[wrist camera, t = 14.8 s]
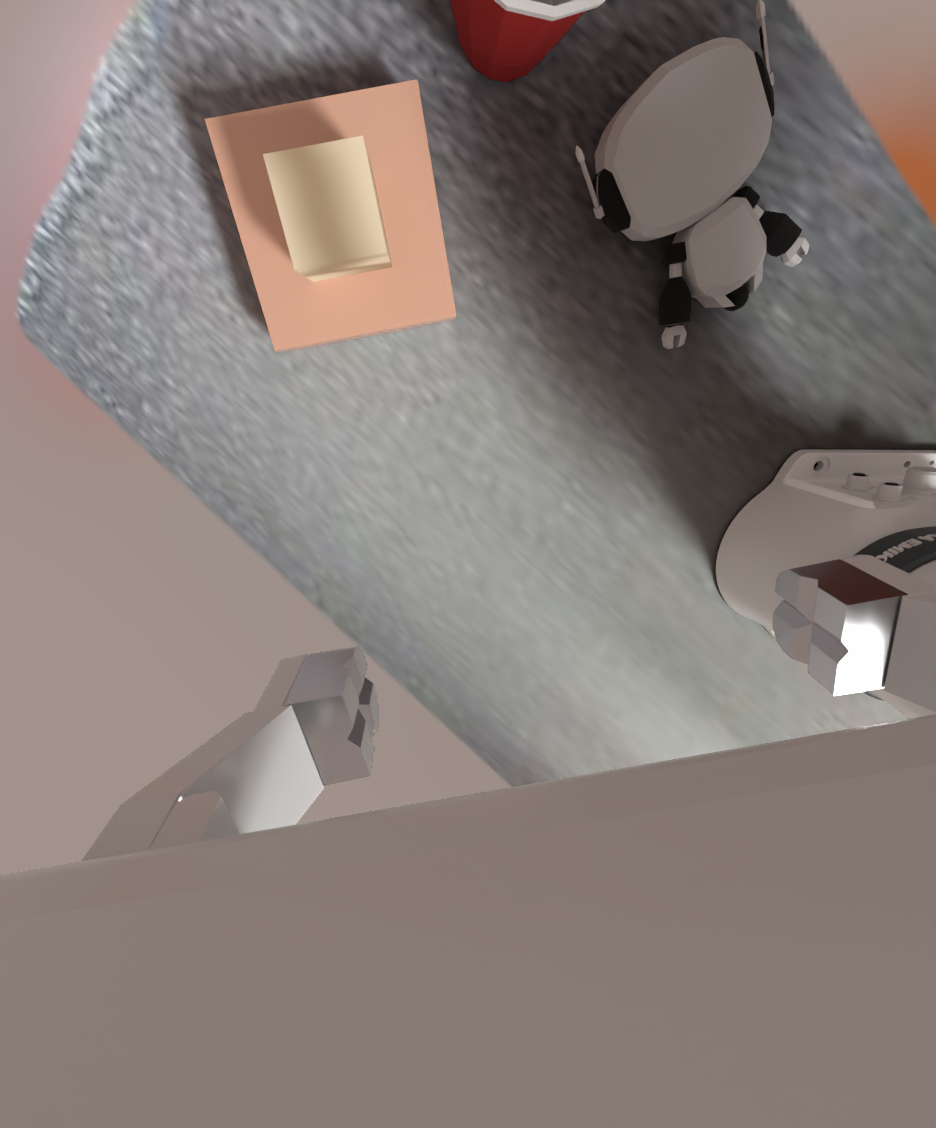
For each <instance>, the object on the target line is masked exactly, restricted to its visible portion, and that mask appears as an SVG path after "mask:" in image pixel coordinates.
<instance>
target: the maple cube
mask: <svg viewBox="0 0 936 1128" xmlns="http://www.w3.org/2000/svg"><path fill="white" fill-rule="evenodd" d="M263 157H264V161H265V164H266V168H267V172H268V175H269V179H270V183H271V186H272V190H273V194H274V197H275V201H276V205H277V208H278V212H279V216H280V219H281V223H282V227H283V230H284V234H285V238H286V241H287V245H288V249H289V252H290V256H291V260H292V263H293V267H294V270H295V271H297V272H298V273H300V274H302V275H303V276H305V277H306V278H308V279H309V280H311V281H312V282H317V281H322V280H327V279H333V278H338V277H343V276H348V275H354V274H359V273H364V272H370V271H375V270H380V269H385V268H391V267H392V263H391V258H390V253H389V248H388V244H387V239H386V234H385V229H384V224H383V219H382V214H381V209H380V204H379V199H378V195H377V190H376V185H375V180H374V175H373V170H372V166H371V163H370V159H369V156H368V152H367V148H366V145H365V141H364V138H363V136H358V137H352V138H347V139H342V140H336V141H331V142H326V143H320V144H315V145H310V146H304V147H299V148H293V149H288V150H283V151H277V152H272V153H267V154H263Z"/></svg>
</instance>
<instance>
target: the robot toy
mask: <svg viewBox="0 0 936 1128" xmlns="http://www.w3.org/2000/svg"><path fill="white" fill-rule="evenodd" d="M755 9H756V18H757V19H758V24H759V33H760V42H761V52H762V59H761V57H760V55H759V54H758V52H757V51H756V52H753V51H752V50H751V49H750V48H749V47H748V46H747V45H745V44H744V43H743V42H742V41H741V40H740V39H737V38H727V37H720V38H716V39H712V40H709V41H707V42H704V43H701V44H699V45H696V46H694V47H692V48H691V49H689V50H687V51H685V52H684V53H682V54H680V55H678V56H677V57H675V58H673V59H671V60H670V61H668V62H666V63H664V64H662V65H661V66H660V67H659V68H658V69H657V70H656V71H655V72H653V73H652V74H651V75H650V76H649V77H648V78H647V79H646V80H645V81H644V82H643V84H642V85H641V86H640V87H639V88H638V89H637V90H636V91H635V92H634V93H633V94H632V96H631V97H630V98H629V99H628V100H627V101H626V102H625V103H624V104H623V105H622V106H621V107H620V109H619V110H618V111H617V113H616V114H615V115H614V117H613V118H612V120H611V121H610V122H609V124H608V125H607V127H606V128H605V130H604V132H603V134H602V136H601V138H600V141H599V144H598V147H597V149H596V152H595V166H596V175H595V177H594V178H593V179H592V182H591V179H590V176H589V173H588V170H587V167H586V164H585V161H584V160H585V158H584V155H583V152H582V150H581V149H580V148H579V147H578V146H577V145H576V152H575V154H576V157H577V160H578V162H580V165H581V168H582V171H583V174H584V177H585V180H586V183H587V186H588V189H589V192H590V195H591V198H592V201H593V204H594V208H593V211H594V214H595V216H596V218H597V219H601V218H602V220H603V222H604V223H605V224H606V225H607V226H608V227H609V228H610V229H611V230H612V231H613V232H614V233H616V232H619V231H621V232H622V233H624V234H625V235H626V236H627V237H628V238H629V239H630V240H631V241H649V240H654V239H657V238H661V237H664V236H667V235H670V234H673V233H675V232H677V233H676V235H675V238H674V240H673V243H672V244H670V245H665V246H664V254H663V263H664V264H666V265H669V279H668V281H667V283H666V285H665V287H664V289H663V291H662V294H661V296H660V298H659V325H666V327H665V330H664V332H663V334H662V342H663V347H665V348H666V349H671V348H673V341H674V347H681V346H682V345H683V344H684V343H685V339H686V335H687V332H686V330H685V328H684V326H683V323H682V322H687V321H690V312H691V297H693V298H696V299H697V300H698V301H699V302H700V303H701V304H702V305H703V306H704V307H705V308H725V309H726V310H729V311H734V310H737V309H739V308H741V307H742V306H743V305H744V304H745V303H746V301H747V300H748V295H749V293H753V292H755V291H756V289H757V288H758V286H759V285H760V283H761V282H762V280H763V260H764V257H765V254H766V251H767V252H768V253H769V254H770V255H771V256H775V257H777V256H779V255H781V259H782V262H783V263H784V264H786V265H788V266H790V267H793V266H795V265H797V264H799V263H800V262H801V260H802V259H801V258H800V257H799V256H798V255H797V254H796V252H798V253H799V254H800V256H802V255H806V253H807V252H808V249H809V244H808V242H807V240H806V238H805V237H804V236H799V235H800V233H801V231H802V229H801V228H800V227H799V226H797V225H796V224H795V223H794V222H793V221H792V220H791V219H790V218H789V217H788V216H787V215H786V214H783V213H776V212H769V211H763V210H762V209H761V208H760V207H759V206H758V205H757V203H758V200H759V197H760V196H759V195H758V194H757V193H756V192H755V191H754V190H753V189H752V188H751V187H750V186H745V187H743V188H742V189H740V190H738V192H737V193H736V194H735V195H734V197H732V198H729V197H730V196H731V195H732V194H733V193H734V192H735V191H736V190H737V189H739V188H740V186H741V185H742V184H743V183H744V182H745V180H746V179H747V178H748V177H749V176H750V174H751V173H752V172H753V171H754V169H755V168H756V166H757V165H758V163H759V162H760V160H761V158H762V156H763V154H764V151H765V149H766V147H767V145H768V143H769V138H770V132H771V125H772V117H773V115H774V99H773V96H774V93H773V89H772V86H773V85H774V74H773V72H771V73H770V64H769V55H768V45H767V35H766V25H765V15H766V11H765V3H764V2H763V1H762V0H758V2H757V5H756V8H755ZM728 198H729V199H728Z"/></svg>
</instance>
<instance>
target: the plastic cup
mask: <svg viewBox="0 0 936 1128" xmlns="http://www.w3.org/2000/svg"><path fill="white" fill-rule="evenodd" d="M450 1H451V6H452V10H453V15H454V20H455V24H456V29H457V33H458V38H459V42H460V45H461V47H462V49H463V50H464V52H465V54H466V55H467V57H468V59H469V60H470V62H471V64H472V66H473V67H474V68H475V69H477V70H478V71H479V72H480V73H482V74H483V75H484V76H486V77H487V78H488V79H492V80H497V81H503V82H508V81H511V80H514V79H517V78H520V77H523V76H525V75H527V74H528V73H529V72H530V71H531V70H532V69H533V68H534V67H535V66H536V65H537V64H538V63H539V62H540V61H541V60H542V59H543V58H544V57H545V56H546V54H547V53H548V52H549V51H550V50H551V49H552V48H553V47H554V46H555V45H556V44H557V43H558V42H559V41H560V40H561V39H562V38H563V37H564V35H565V34H566V33H567V32H568V31H569V29H570V28H571V27H572V26H573V25H574V23H575V22H576V21H577V20H578V19H579V17H580V16H581V15H582V14H583V13H584V12H585V11H587V10H591V9H594V8H597V7H599V6H600V5H601V4H602V3H603V2H604V1H605V0H450Z"/></svg>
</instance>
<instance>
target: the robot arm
mask: <svg viewBox="0 0 936 1128" xmlns="http://www.w3.org/2000/svg"><path fill="white" fill-rule="evenodd" d="M816 462H817V466H816V467H815V468H814V465H815V463H816ZM716 579H717V584H718V587H719V590H720V593H721V595H722V597H723V598H724V600H725V601H726V603H727V604H728V605H729V606H730V607H731V608H732V609H733V610H734V611H736V612H737V613H739V614H740V615H742V616H744V617H746V618H749V619H751V620H753V621H755V622H757V623H759V624H761V625H763V626H764V628H765V629H766V630H767V631H768V633H769V634H770V635H771V636H772V637H773V638H775V639H776V641H777V642H778V644H779V645H780V647H781V648H782V650H783V651H784V652H785V653H786V654H787V655H788V656H789V657H790V658H792V659H794V660H797V661H800V662H803V663H806V664H808V673H809V674H810V675H811V676H812V677H813V678H814V679H815V680H817V681H818V682H819V683H820V684H821V685H822V686H823V687H825V688H826V689H827V690H828V691H829V692H830V693H832V694H833V695H841V694H848V693H855V692H864V693H865V694H867V695H869V696H871V697H873V698H876V699H879V700H883V701H886V702H887V703H888V704H890V705H891V706H892V707H894V708H895V709H896V710H898V711H899V712H900V713H902V714H903V715H904V716H905V717H907V718H908V719H905V720H900V721H894V722H888V723H882V724H876V725H871V726H865V727H859V728H853V729H847V730H842V731H836V732H830V733H824V734H818V735H813V736H807V737H801V738H795V739H789V740H784V741H778V742H772V743H766V744H760V745H755V746H749V747H743V748H737V749H731V750H726V751H720V752H714V753H708V754H702V755H697V756H691V757H685V758H679V759H673V760H667V761H662V762H656V763H650V764H644V765H638V766H633V767H627V768H621V769H615V770H609V771H604V772H598V773H592V774H586V775H580V776H574V777H569V778H563V779H557V780H551V781H545V782H540V783H534V784H528V785H522V786H516V787H511V788H505V789H499V790H493V791H488V792H482V793H476V794H470V795H465V796H458V797H453V798H447V799H441V800H436V801H429V802H424V803H418V804H412V805H406V806H401V807H394V808H388V809H383V810H377V811H371V812H365V813H359V814H354V815H348V816H342V817H336V818H330V819H325V820H319V821H313V822H307V823H302V824H296V823H297V822H298V821H299V819H300V818H301V817H302V816H303V814H304V813H305V812H306V811H307V809H308V808H309V807H310V805H311V804H312V803H313V802H314V800H315V799H316V798H317V796H318V795H319V794H320V793H321V791H322V790H323V789H324V785H329V784H334V783H339V782H344V781H349V780H353V779H358V778H363V777H368V776H370V773H371V767H372V762H373V756H374V750H375V748H374V745H373V742H372V739H371V738H372V737H373V736H374V734H375V733H376V732H377V730H378V724H379V705H378V701H377V695H376V691H375V688H374V685H373V683H372V682H371V681H369V680H368V679H367V678H365V674H366V670H367V662H366V659H365V656H364V653H363V651H362V649H361V648H360V647H359V646H357V647H351V648H345V649H338V650H332V651H326V652H320V653H314V654H309V655H308V654H306V655H300V656H295V657H290V658H285V659H283V660H280V662H279V664H278V666H277V667H276V669H275V671H274V673H273V675H272V677H271V679H270V681H269V683H268V685H267V687H266V689H265V690H264V692H263V694H262V696H261V698H260V700H259V702H258V704H257V706H256V708H255V710H254V711H253V712H248V713H245V714H243V715H242V716H241V717H240V718H238V719H237V720H235V721H234V722H233V723H231V724H230V725H229V726H227V727H226V728H224V729H223V730H222V731H220V732H219V733H218V734H216V735H215V736H214V737H212V738H211V739H209V740H208V741H207V742H205V743H204V744H203V745H201V746H200V747H199V748H197V749H196V750H194V751H193V752H192V753H190V754H189V755H188V756H186V757H185V758H184V759H182V760H181V761H180V762H178V763H177V764H176V765H174V766H173V767H171V768H170V769H169V770H167V771H166V772H165V773H163V774H162V775H161V776H159V777H158V778H157V779H155V780H154V781H152V782H151V783H150V784H148V785H147V786H146V787H144V788H143V789H142V790H140V791H139V792H137V793H136V794H135V795H133V796H132V797H131V798H129V799H128V800H127V801H125V802H124V803H123V804H122V805H120V807H119V808H118V809H117V811H116V812H115V814H114V815H113V816H112V818H111V819H110V821H109V822H108V824H107V825H106V826H105V828H104V829H103V831H102V832H101V834H100V835H99V837H98V838H97V839H96V841H95V842H94V843H93V845H92V846H91V848H90V849H89V851H88V852H87V853H86V855H85V856H84V858H83V859H82V861H81V862H75V863H69V864H63V865H58V866H52V867H46V868H40V869H35V870H29V871H23V872H17V873H11V874H6V875H0V1128H936V450H822V449H804V450H799V451H796V452H795V453H793V454H792V455H791V456H790V457H789V458H788V459H787V460H786V462H785V463H784V465H783V466H782V467H781V469H780V470H779V472H778V474H777V475H776V477H775V478H774V480H773V482H772V483H771V484H770V485H769V486H768V487H766V488H765V489H764V490H763V491H762V492H761V493H759V494H758V495H757V496H756V497H754V498H753V499H752V500H751V501H750V502H749V503H748V504H747V505H746V506H745V507H744V508H743V509H742V510H741V511H740V512H739V513H738V515H737V516H736V517H735V518H734V520H733V521H732V523H731V524H730V526H729V527H728V529H727V531H726V533H725V535H724V537H723V539H722V542H721V544H720V547H719V551H718V555H717V561H716Z"/></svg>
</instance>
